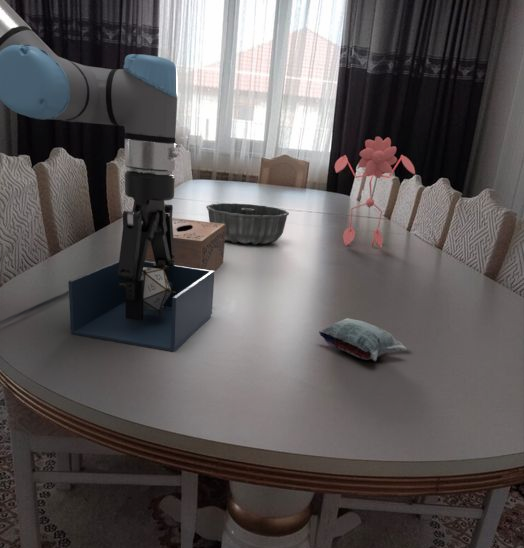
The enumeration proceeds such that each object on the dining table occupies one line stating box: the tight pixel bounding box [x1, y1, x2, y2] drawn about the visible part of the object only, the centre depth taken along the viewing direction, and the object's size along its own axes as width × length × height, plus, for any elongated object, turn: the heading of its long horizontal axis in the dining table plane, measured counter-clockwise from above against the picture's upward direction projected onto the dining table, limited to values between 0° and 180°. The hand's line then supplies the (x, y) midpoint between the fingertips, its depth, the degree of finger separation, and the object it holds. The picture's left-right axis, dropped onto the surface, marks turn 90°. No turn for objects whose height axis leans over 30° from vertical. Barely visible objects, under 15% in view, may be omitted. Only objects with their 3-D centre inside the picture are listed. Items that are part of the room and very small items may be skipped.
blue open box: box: [67, 260, 215, 353], centre depth 92 cm, size 30×17×8 cm, turn 167°
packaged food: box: [318, 317, 407, 362], centre depth 84 cm, size 9×12×5 cm
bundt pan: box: [205, 202, 290, 246], centre depth 167 cm, size 26×26×10 cm
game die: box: [119, 265, 176, 316], centre depth 86 cm, size 9×8×10 cm
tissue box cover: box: [145, 217, 226, 273], centre depth 123 cm, size 26×14×10 cm, turn 173°
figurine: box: [334, 136, 416, 254], centre depth 168 cm, size 15×26×35 cm, turn 94°
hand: (147, 309), depth 88 cm, fingers closed on game die, 10 cm apart
